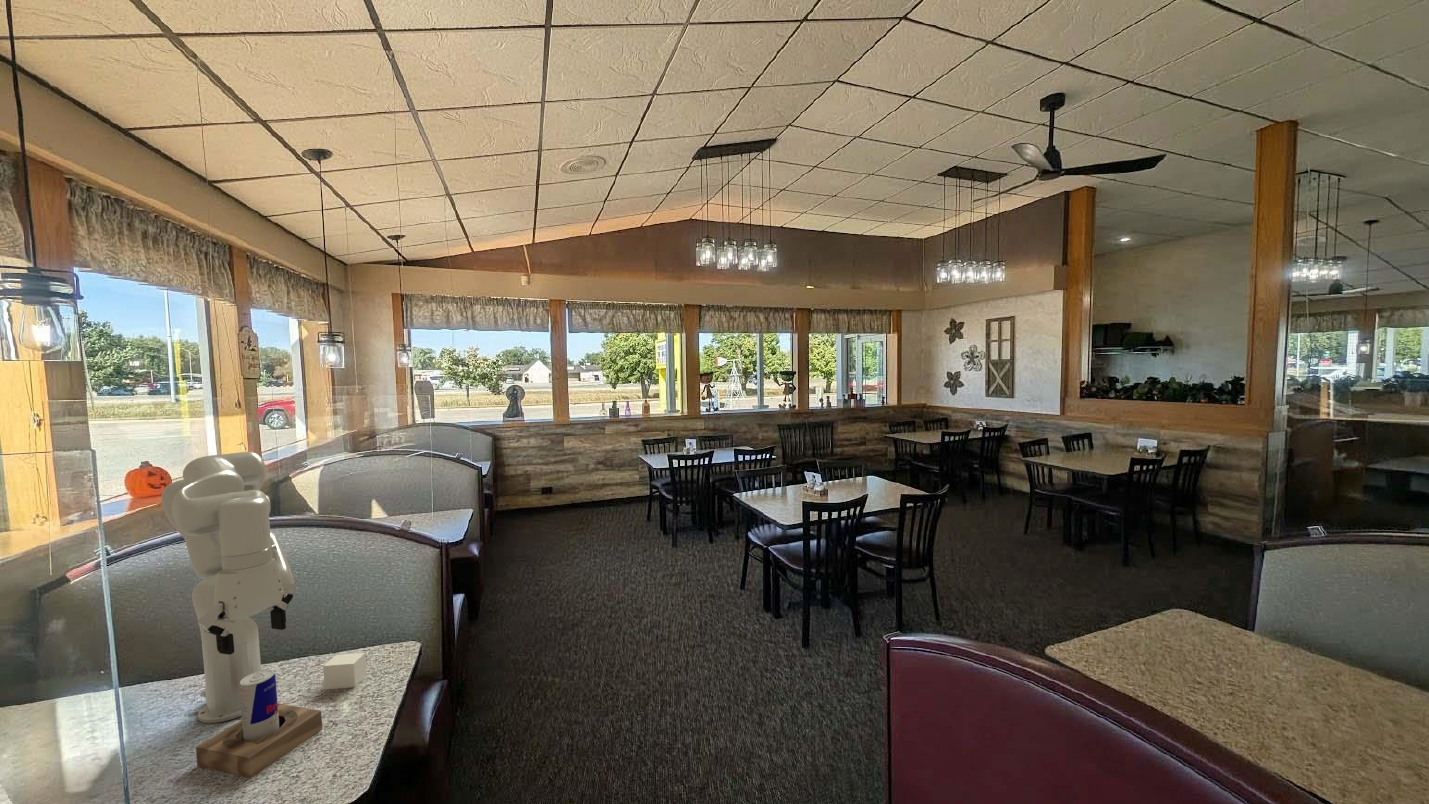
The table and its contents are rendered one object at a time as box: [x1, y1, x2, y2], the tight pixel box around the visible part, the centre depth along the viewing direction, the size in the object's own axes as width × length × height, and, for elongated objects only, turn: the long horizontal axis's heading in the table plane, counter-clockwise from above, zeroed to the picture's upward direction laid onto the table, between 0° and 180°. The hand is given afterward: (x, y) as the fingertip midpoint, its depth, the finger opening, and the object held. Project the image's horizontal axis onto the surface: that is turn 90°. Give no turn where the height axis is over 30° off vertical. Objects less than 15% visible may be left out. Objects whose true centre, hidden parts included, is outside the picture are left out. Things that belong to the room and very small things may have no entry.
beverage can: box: [239, 669, 279, 742], centre depth 107 cm, size 6×6×15 cm
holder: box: [195, 703, 323, 779], centre depth 107 cm, size 14×14×4 cm
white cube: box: [322, 652, 368, 690], centre depth 129 cm, size 7×5×6 cm
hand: (253, 640), depth 106 cm, fingers open, 9 cm apart
